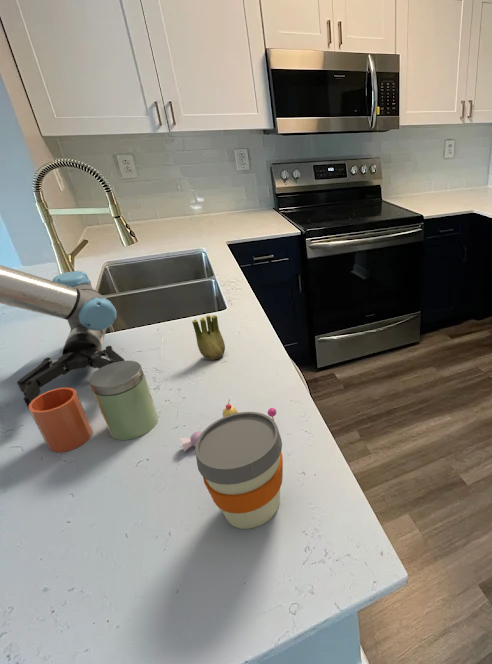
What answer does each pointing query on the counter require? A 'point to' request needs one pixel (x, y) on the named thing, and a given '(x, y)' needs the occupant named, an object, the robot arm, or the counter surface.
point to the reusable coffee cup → (242, 467)
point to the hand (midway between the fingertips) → (68, 394)
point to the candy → (227, 411)
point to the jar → (129, 411)
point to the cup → (61, 419)
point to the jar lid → (116, 377)
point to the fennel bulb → (209, 338)
